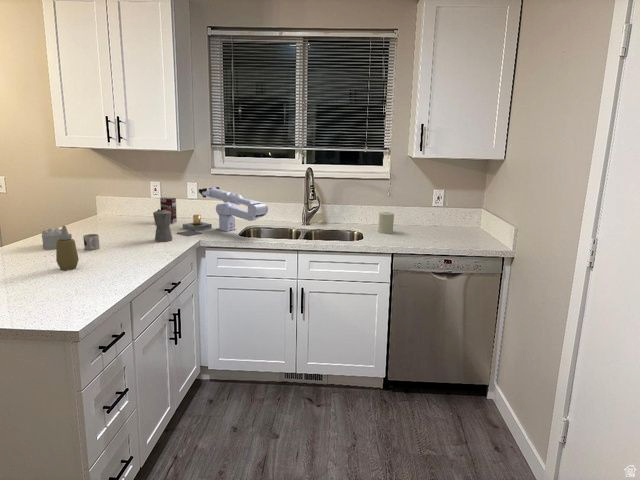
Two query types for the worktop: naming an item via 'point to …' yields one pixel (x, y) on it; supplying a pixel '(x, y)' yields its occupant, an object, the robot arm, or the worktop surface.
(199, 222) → the end cap
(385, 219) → the can
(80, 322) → the worktop surface
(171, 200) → the supplement box
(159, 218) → the coffeepot
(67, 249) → the squeeze bottle
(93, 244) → the mug
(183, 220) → the worktop surface
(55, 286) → the worktop surface
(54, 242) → the lumpy-topped squat cylinder
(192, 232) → the mat
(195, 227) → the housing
